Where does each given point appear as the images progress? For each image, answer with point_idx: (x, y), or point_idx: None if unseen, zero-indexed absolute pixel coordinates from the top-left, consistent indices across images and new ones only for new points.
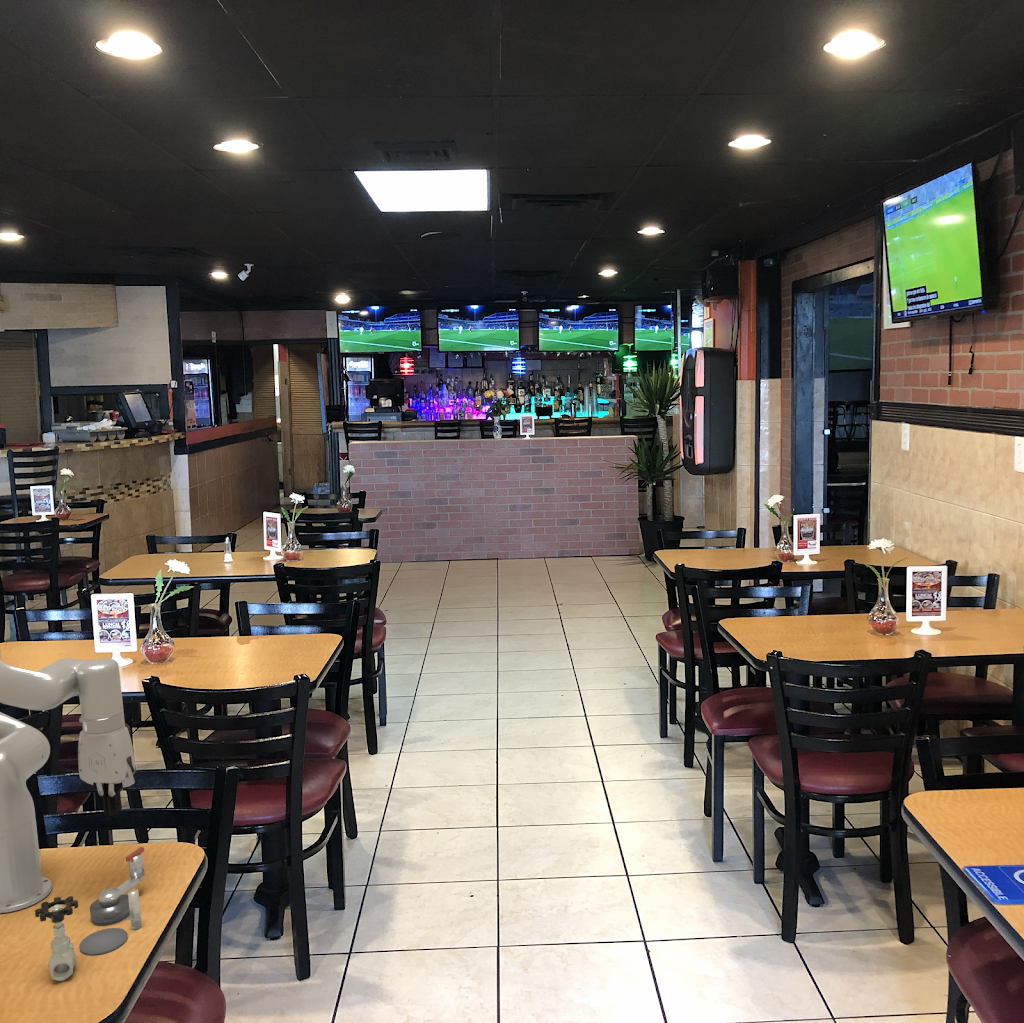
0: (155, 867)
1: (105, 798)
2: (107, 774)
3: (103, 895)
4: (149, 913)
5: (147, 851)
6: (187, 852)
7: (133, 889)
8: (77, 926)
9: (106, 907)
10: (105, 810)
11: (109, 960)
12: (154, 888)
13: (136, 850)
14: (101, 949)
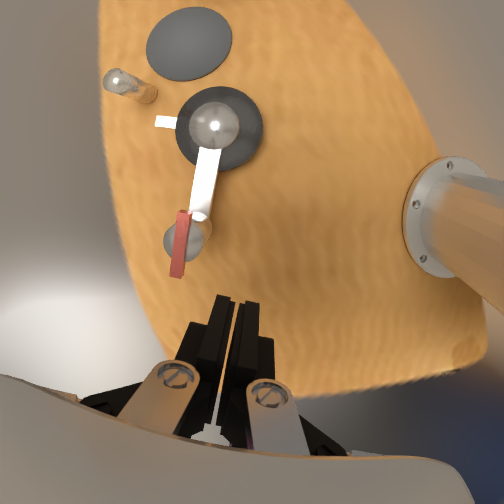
0: None
1: (232, 358)
2: (38, 487)
3: (220, 111)
4: (146, 144)
5: None
6: None
7: (115, 87)
8: (276, 91)
9: None
10: (245, 312)
11: (153, 4)
12: None
13: (180, 257)
14: (177, 18)
